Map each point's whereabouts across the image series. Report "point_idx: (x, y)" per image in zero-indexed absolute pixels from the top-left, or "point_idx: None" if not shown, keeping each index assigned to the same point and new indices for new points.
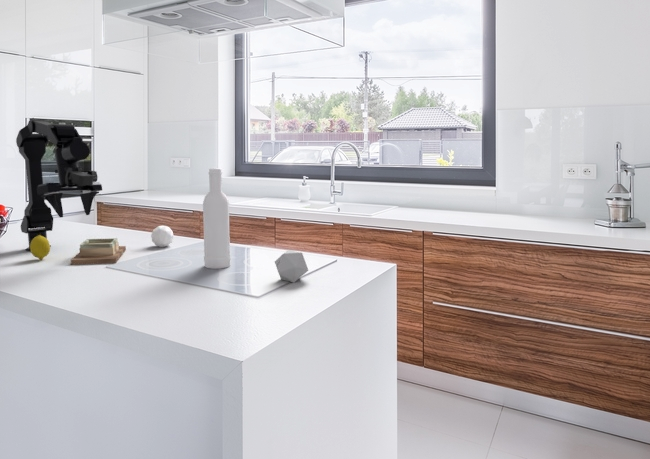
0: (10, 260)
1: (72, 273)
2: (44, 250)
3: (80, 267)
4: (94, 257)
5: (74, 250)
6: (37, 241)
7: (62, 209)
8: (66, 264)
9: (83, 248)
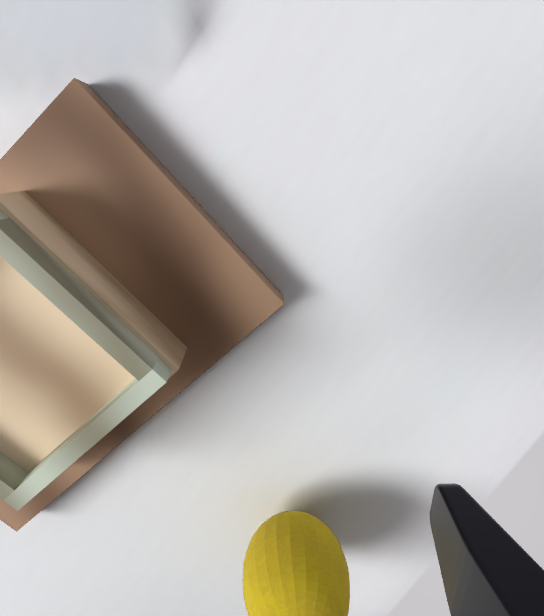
0: (375, 601)
1: (427, 83)
2: (302, 525)
3: (296, 186)
4: (152, 239)
5: (59, 572)
6: (335, 594)
7: (502, 591)
8: (290, 324)
9: (158, 351)
